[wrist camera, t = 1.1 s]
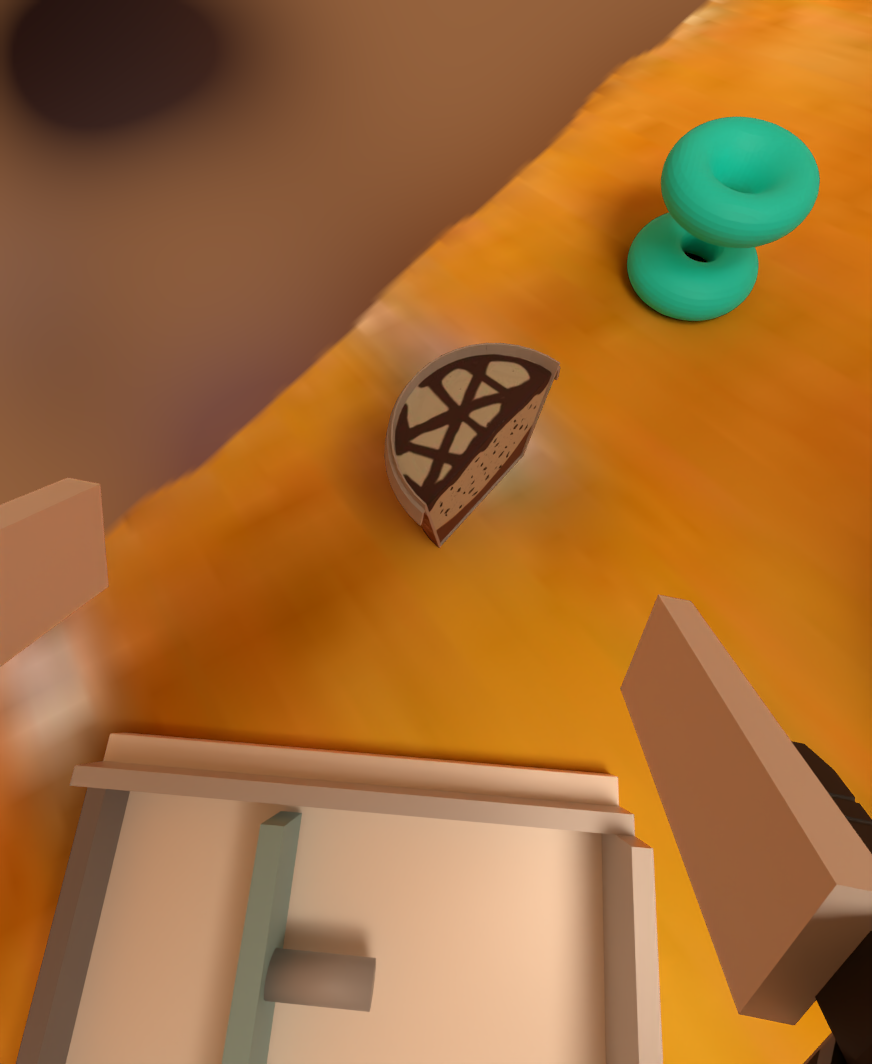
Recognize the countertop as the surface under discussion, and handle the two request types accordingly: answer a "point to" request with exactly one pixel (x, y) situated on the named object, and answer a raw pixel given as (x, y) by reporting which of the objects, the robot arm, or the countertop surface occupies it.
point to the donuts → (720, 215)
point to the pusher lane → (352, 909)
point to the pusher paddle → (283, 954)
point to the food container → (463, 430)
